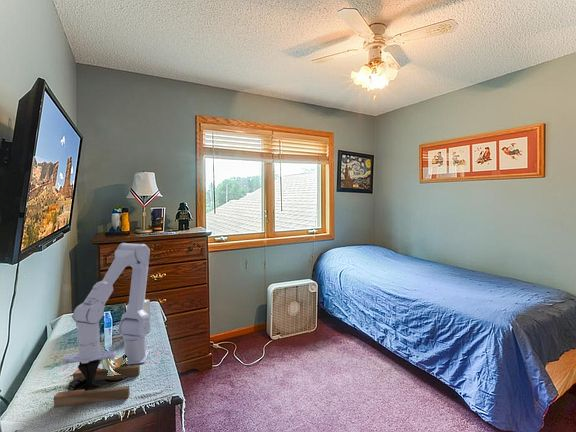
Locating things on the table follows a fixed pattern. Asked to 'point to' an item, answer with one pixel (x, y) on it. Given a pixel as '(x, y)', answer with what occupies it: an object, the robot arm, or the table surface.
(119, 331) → the robot arm
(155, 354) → the table surface
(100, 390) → the walled channel
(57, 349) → the table surface
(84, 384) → the black piece
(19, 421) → the table surface
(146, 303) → the skincare box
